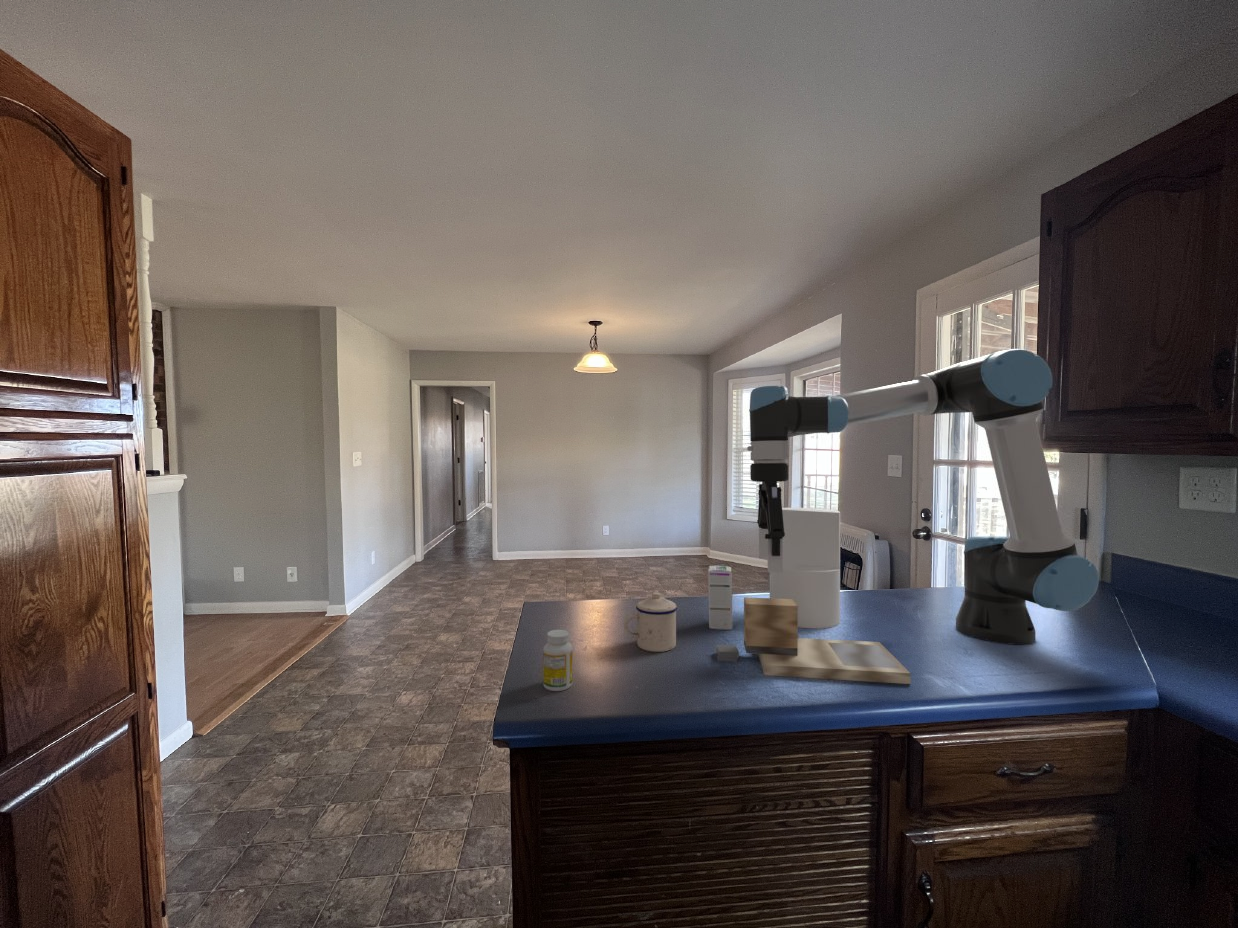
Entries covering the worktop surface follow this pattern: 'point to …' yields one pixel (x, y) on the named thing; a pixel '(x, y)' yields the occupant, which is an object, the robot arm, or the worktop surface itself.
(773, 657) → the maple board
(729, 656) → the chip
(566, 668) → the supplement bottle
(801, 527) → the cylinder
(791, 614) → the sanding block
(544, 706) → the worktop surface
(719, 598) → the syrup box
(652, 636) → the teacup with lid
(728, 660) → the chip
